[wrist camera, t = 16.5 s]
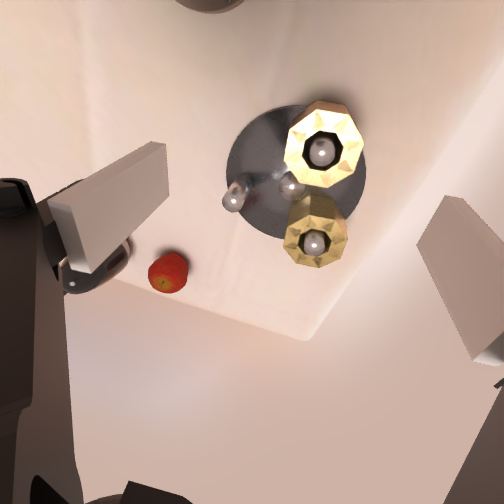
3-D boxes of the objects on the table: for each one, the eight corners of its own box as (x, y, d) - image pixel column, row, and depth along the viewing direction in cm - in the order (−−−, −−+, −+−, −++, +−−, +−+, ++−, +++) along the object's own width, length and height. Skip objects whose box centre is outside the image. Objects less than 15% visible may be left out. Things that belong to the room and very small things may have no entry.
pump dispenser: (84, 237, 63) (29, 283, 51) (106, 212, 57) (49, 256, 45) (122, 267, 66) (78, 316, 54) (146, 246, 61) (103, 295, 49)
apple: (200, 270, 62) (187, 295, 56) (173, 279, 65) (158, 303, 59) (180, 242, 58) (163, 266, 52) (152, 253, 62) (134, 276, 56)
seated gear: (285, 162, 44) (280, 179, 38) (297, 97, 38) (293, 105, 33) (343, 172, 43) (347, 191, 38) (364, 108, 38) (372, 118, 32)
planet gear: (284, 236, 52) (280, 259, 46) (294, 191, 46) (290, 211, 41) (333, 246, 51) (335, 271, 45) (349, 202, 46) (353, 223, 40)
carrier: (224, 224, 54) (209, 251, 47) (232, 93, 40) (214, 104, 33) (340, 248, 52) (343, 280, 45) (388, 119, 39) (404, 135, 32)
